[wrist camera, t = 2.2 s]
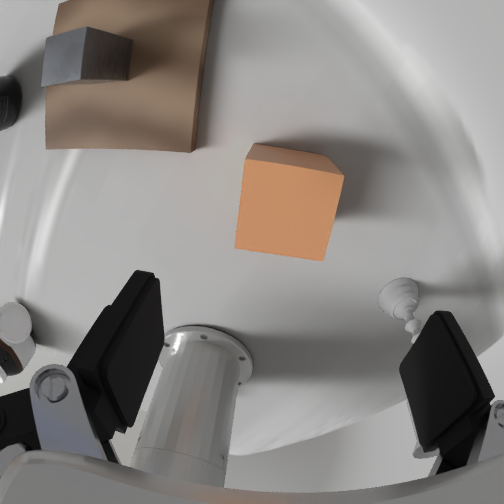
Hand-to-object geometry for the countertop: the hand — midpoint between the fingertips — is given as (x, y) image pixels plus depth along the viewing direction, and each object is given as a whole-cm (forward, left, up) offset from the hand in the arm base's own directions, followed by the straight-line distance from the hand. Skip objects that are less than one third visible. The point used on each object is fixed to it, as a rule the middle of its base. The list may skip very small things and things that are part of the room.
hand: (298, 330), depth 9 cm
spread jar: (-28, +41, -18) cm, 53 cm away
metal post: (+10, +16, -16) cm, 25 cm away
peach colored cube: (0, 0, -18) cm, 18 cm away
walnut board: (+10, +16, -18) cm, 26 cm away
